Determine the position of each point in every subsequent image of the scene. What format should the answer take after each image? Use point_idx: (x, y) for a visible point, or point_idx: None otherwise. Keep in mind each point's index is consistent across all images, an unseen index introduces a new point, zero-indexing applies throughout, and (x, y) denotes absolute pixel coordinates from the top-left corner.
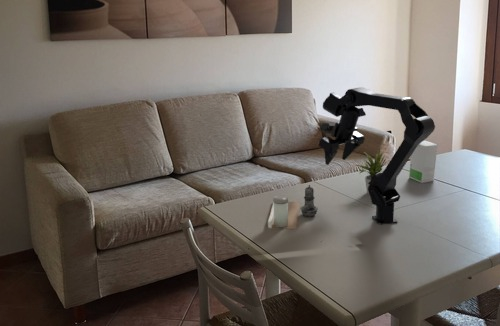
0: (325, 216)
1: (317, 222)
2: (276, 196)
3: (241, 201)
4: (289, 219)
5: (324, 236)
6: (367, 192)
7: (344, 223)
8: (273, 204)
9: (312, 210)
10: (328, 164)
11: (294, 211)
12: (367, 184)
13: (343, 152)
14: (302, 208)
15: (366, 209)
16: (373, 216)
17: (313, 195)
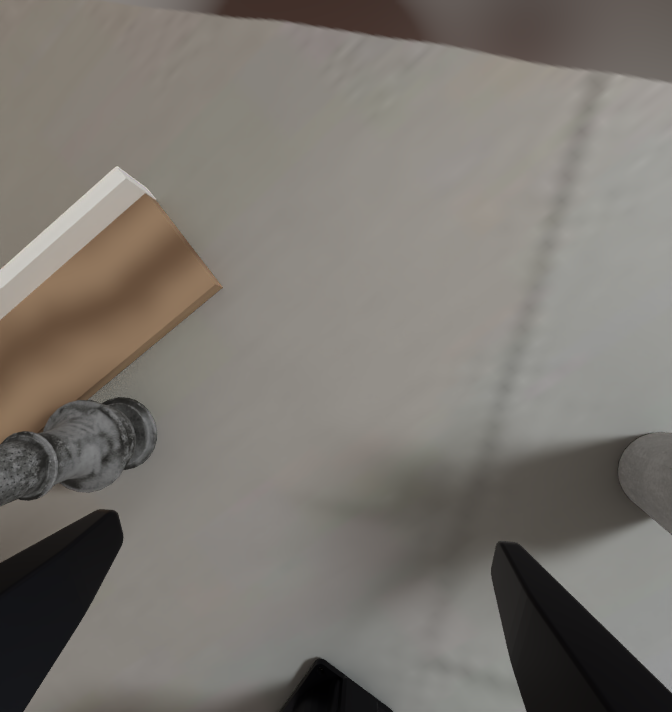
0: (189, 476)
1: (110, 493)
2: (118, 174)
3: (70, 32)
4: (10, 405)
5: None
6: (629, 450)
7: (179, 592)
8: (19, 255)
9: (66, 483)
10: (109, 555)
11: (97, 354)
12: (661, 476)
13: (564, 649)
14: (52, 426)
15: (399, 577)
16: (324, 667)
17: (23, 495)
